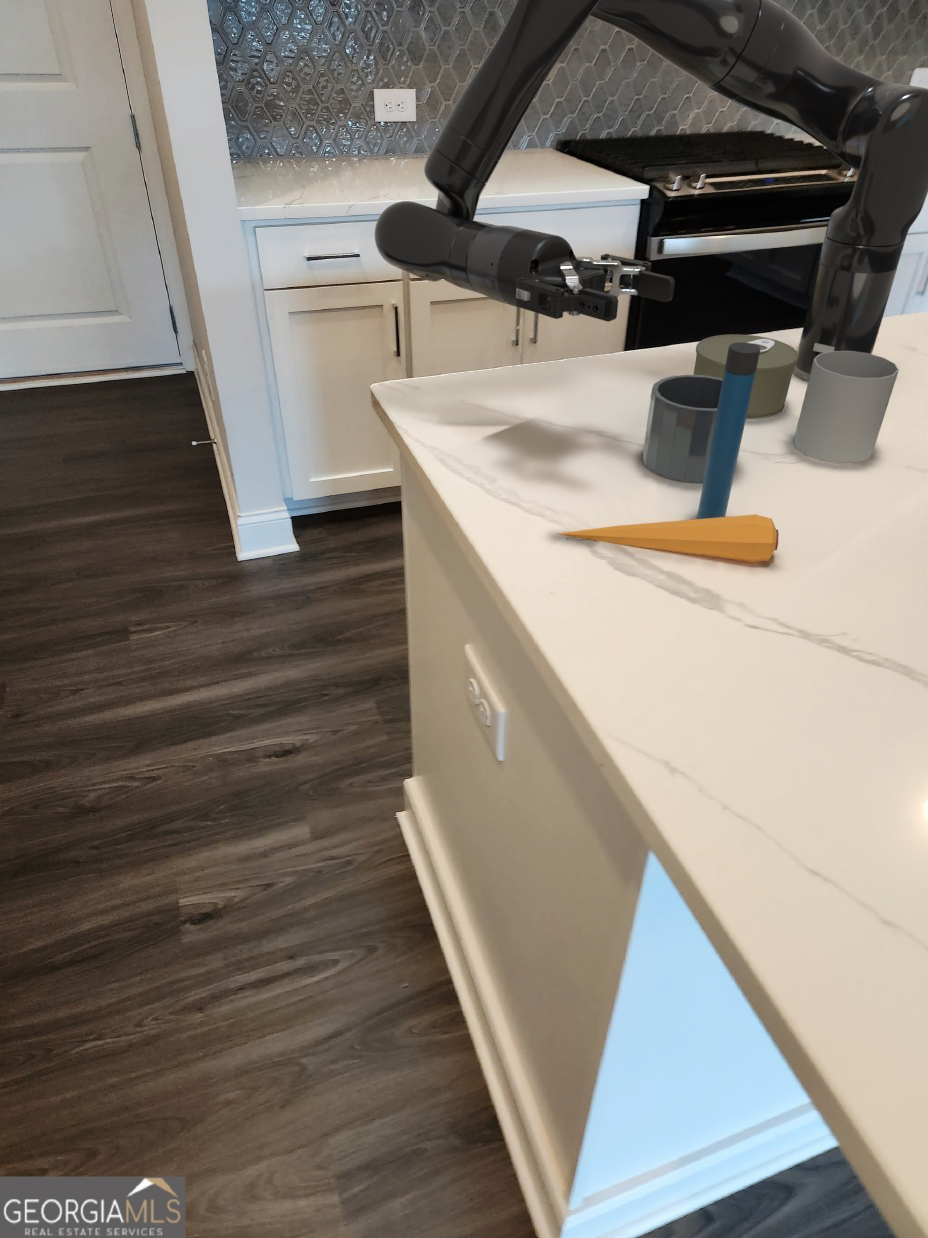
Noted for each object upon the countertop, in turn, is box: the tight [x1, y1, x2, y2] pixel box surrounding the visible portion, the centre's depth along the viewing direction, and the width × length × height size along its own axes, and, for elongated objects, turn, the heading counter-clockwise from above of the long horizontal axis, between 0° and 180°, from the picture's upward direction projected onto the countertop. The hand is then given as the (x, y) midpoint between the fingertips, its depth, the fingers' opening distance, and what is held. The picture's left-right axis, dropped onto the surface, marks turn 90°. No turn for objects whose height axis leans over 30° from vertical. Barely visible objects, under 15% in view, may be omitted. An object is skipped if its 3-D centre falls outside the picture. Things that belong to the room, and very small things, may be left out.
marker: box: [696, 342, 760, 519], centre depth 76 cm, size 3×3×18 cm
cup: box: [793, 351, 900, 465], centre depth 91 cm, size 8×8×10 cm
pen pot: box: [642, 374, 723, 484], centre depth 88 cm, size 10×10×8 cm
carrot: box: [557, 514, 780, 563], centre depth 77 cm, size 20×4×4 cm, turn 77°
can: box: [692, 333, 798, 420], centre depth 103 cm, size 12×12×7 cm
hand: (644, 299), depth 77 cm, fingers open, 8 cm apart
